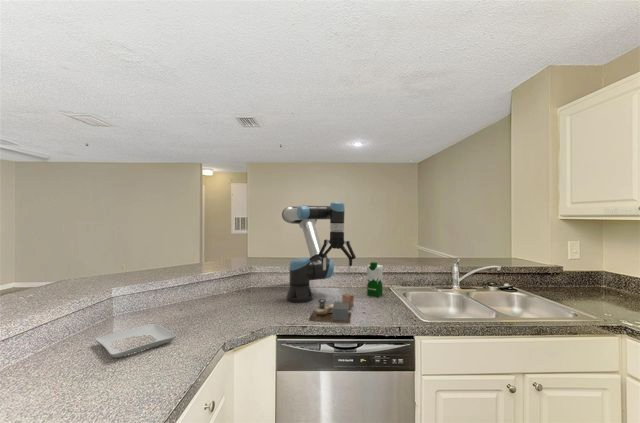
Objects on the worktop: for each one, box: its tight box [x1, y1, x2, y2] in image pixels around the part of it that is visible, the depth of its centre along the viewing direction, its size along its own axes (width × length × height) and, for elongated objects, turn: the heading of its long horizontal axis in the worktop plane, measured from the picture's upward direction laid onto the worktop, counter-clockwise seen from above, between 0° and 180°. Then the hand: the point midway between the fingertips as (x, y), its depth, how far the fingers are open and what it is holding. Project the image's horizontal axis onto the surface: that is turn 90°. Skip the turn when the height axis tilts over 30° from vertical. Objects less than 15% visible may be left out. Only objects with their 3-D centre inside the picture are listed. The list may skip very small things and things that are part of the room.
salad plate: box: [95, 322, 178, 358], centre depth 109 cm, size 21×21×3 cm
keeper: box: [308, 298, 352, 324], centre depth 138 cm, size 19×12×7 cm, turn 82°
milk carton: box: [366, 261, 384, 298], centre depth 178 cm, size 9×9×20 cm
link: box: [316, 293, 355, 315], centre depth 146 cm, size 22×5×6 cm, turn 127°
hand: (336, 270), depth 155 cm, fingers open, 13 cm apart
